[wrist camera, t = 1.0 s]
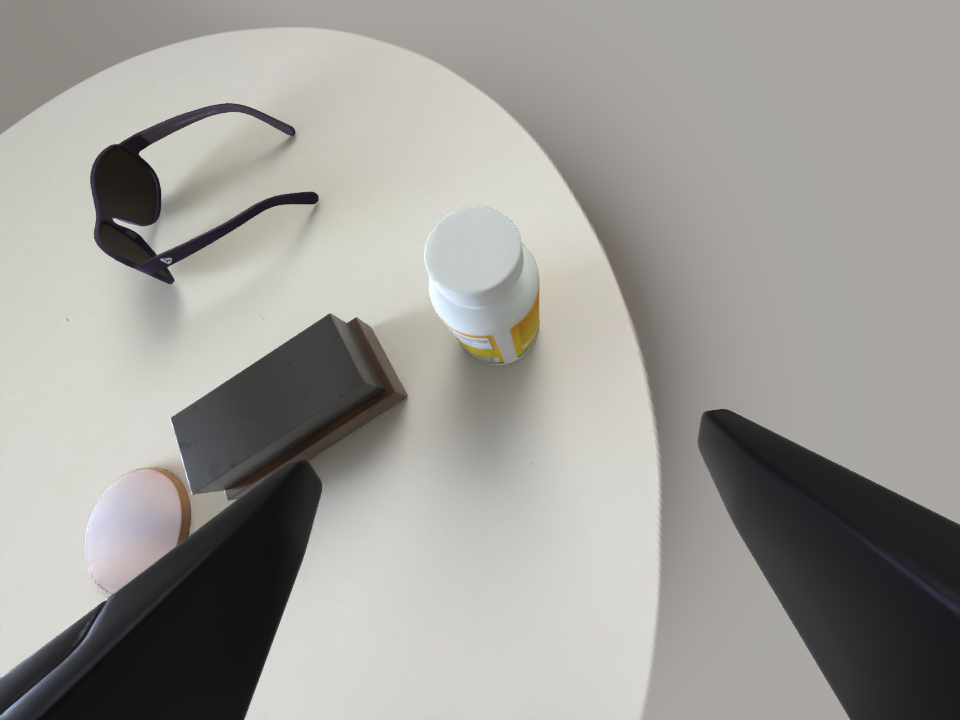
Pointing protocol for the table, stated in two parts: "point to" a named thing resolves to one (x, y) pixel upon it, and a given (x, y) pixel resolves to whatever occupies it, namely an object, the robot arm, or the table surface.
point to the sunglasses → (159, 196)
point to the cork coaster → (135, 526)
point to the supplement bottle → (484, 283)
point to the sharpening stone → (286, 407)
